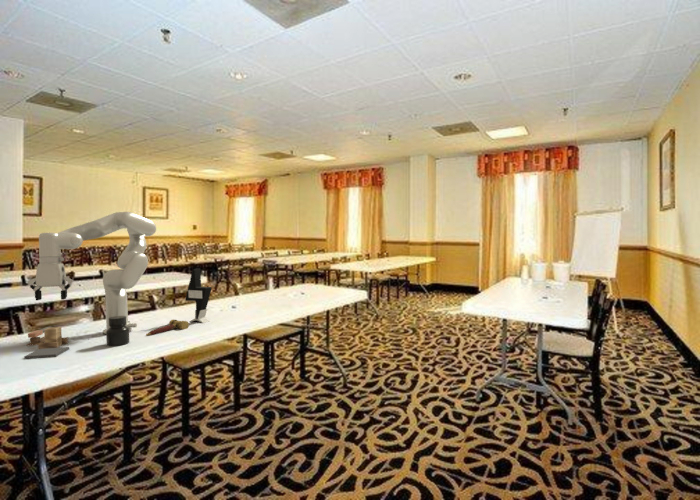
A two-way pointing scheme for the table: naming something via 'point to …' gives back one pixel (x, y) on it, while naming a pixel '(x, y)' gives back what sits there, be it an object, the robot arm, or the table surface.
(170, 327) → the gavel
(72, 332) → the table surface
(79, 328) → the table surface
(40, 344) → the cradle
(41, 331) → the cutter lever
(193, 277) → the award
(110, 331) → the ink bottle
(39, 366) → the table surface
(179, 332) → the table surface
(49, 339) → the block
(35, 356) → the mat
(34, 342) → the lever base
